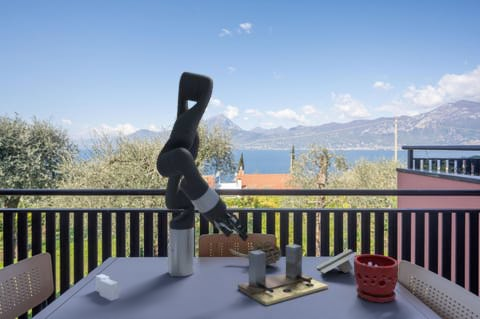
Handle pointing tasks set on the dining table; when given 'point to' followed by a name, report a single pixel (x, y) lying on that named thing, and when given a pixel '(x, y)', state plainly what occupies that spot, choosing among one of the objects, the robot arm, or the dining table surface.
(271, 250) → the pine cone
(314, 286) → the bolt plate
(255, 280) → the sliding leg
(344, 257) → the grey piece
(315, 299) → the dining table surface
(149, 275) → the dining table surface
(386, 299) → the plant pot
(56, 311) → the dining table surface
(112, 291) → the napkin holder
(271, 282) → the base
